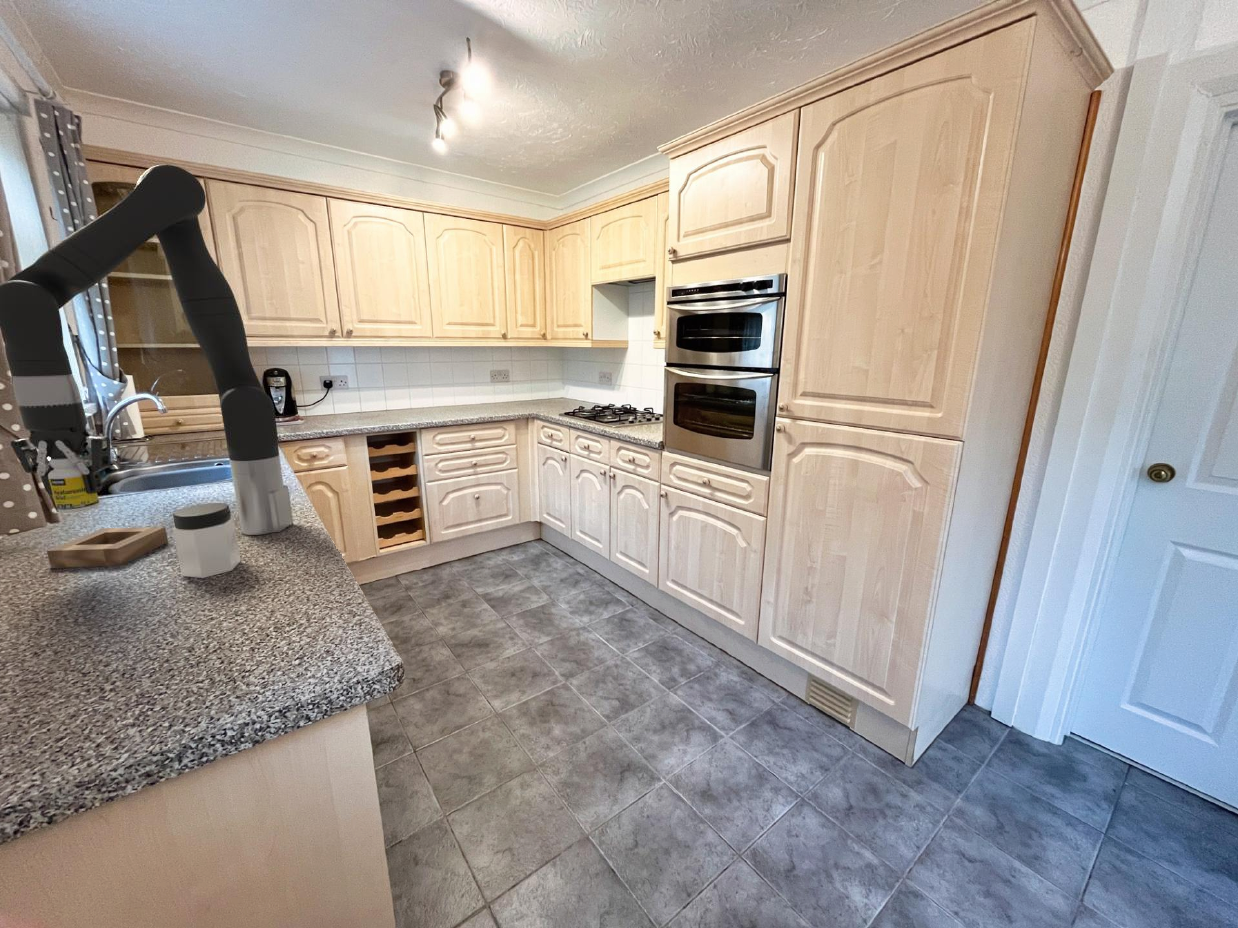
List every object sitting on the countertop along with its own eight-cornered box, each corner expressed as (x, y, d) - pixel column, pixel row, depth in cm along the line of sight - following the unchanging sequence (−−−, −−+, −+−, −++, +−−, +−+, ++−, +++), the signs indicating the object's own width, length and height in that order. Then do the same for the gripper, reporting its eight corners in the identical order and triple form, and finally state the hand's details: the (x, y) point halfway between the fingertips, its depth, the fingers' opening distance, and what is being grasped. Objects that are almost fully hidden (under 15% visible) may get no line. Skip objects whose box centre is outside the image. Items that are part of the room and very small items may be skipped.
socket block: (168, 541, 107) (165, 526, 107) (121, 565, 96) (117, 548, 95) (106, 543, 106) (102, 528, 105) (51, 567, 94) (46, 550, 94)
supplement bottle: (51, 515, 88) (36, 462, 86) (66, 506, 93) (51, 456, 90) (93, 510, 91) (79, 458, 88) (105, 502, 95) (92, 452, 93)
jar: (229, 575, 92) (218, 514, 90) (175, 581, 90) (162, 519, 87) (246, 556, 101) (236, 500, 98) (196, 562, 98) (185, 504, 95)
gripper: (114, 398, 92) (135, 486, 96) (24, 399, 90) (50, 489, 94) (78, 403, 85) (102, 497, 89) (-21, 404, 82) (9, 501, 87)
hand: (75, 493), depth 91 cm, fingers closed on supplement bottle, 5 cm apart
